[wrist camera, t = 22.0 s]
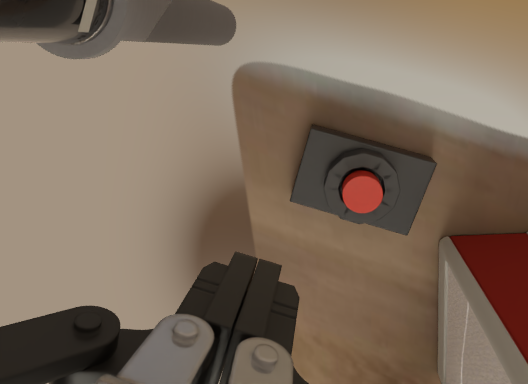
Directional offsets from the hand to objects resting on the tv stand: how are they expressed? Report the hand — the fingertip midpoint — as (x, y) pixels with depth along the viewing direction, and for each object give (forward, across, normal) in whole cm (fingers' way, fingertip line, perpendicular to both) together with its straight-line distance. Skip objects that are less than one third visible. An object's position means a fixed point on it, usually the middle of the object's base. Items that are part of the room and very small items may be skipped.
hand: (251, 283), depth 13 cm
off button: (+23, -6, +3) cm, 24 cm away
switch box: (+27, -6, +3) cm, 28 cm away
